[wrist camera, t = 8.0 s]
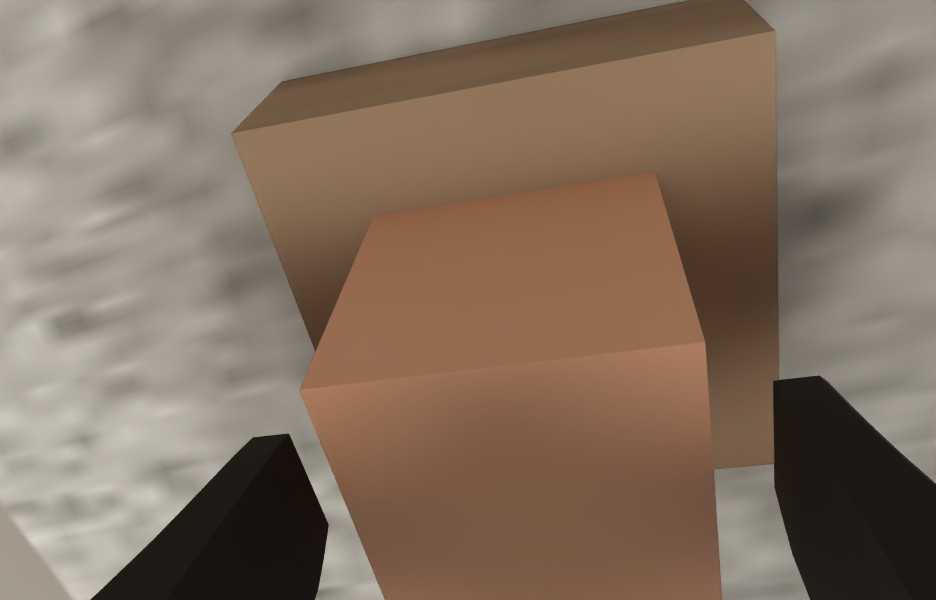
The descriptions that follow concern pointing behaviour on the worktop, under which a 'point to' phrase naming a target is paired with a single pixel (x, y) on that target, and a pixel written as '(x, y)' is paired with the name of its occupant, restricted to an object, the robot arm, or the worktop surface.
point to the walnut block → (554, 164)
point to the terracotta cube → (523, 401)
